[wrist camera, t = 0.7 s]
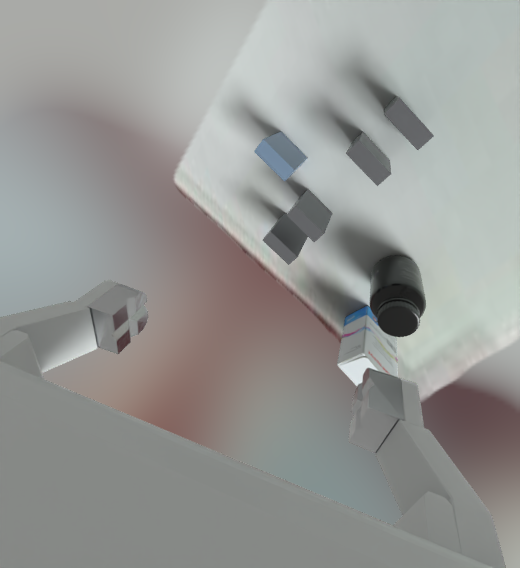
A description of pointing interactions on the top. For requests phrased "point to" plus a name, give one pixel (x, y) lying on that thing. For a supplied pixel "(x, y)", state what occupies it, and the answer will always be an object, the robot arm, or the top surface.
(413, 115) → the domino
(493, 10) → the top surface
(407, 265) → the supplement bottle
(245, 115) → the top surface
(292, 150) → the domino
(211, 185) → the top surface
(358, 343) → the ink box
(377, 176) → the domino
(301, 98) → the top surface
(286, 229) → the domino
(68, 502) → the robot arm
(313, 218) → the domino
